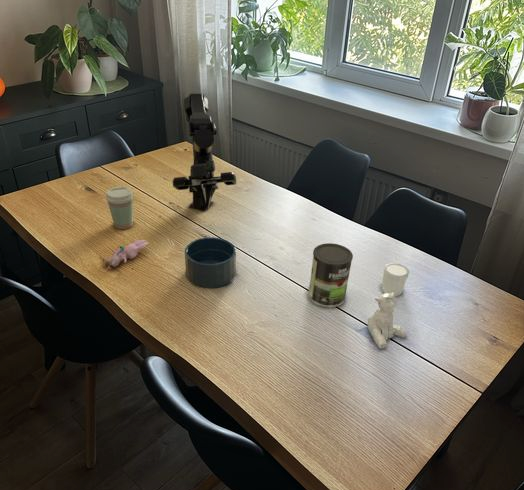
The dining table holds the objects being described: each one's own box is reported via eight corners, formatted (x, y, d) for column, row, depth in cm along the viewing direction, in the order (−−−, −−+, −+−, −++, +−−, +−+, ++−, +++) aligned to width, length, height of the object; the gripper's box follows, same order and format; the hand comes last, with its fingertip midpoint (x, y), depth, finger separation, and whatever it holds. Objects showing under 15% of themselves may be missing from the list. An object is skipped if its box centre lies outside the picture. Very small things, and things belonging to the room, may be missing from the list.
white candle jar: (405, 285, 143) (410, 265, 139) (402, 299, 137) (408, 279, 133) (381, 280, 144) (385, 260, 140) (377, 293, 139) (382, 273, 135)
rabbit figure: (114, 276, 142) (155, 249, 150) (108, 260, 138) (150, 234, 146) (101, 267, 146) (142, 242, 154) (96, 252, 142) (137, 226, 150)
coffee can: (352, 301, 136) (360, 259, 128) (321, 311, 132) (327, 268, 123) (331, 281, 143) (338, 239, 135) (301, 290, 139) (305, 247, 131)
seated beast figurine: (380, 351, 120) (390, 313, 113) (355, 331, 126) (362, 293, 119) (406, 336, 125) (417, 299, 118) (381, 318, 131) (389, 281, 124)
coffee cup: (140, 219, 167) (136, 187, 160) (132, 232, 160) (127, 199, 153) (115, 217, 168) (110, 185, 161) (106, 230, 161) (100, 196, 154)
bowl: (204, 255, 151) (203, 232, 147) (244, 269, 146) (245, 246, 141) (176, 278, 141) (174, 254, 136) (218, 294, 136) (218, 270, 131)
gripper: (165, 154, 145) (169, 207, 144) (229, 148, 143) (233, 201, 142) (176, 164, 156) (179, 213, 155) (234, 158, 154) (238, 208, 153)
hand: (206, 209), depth 151 cm, fingers closed
